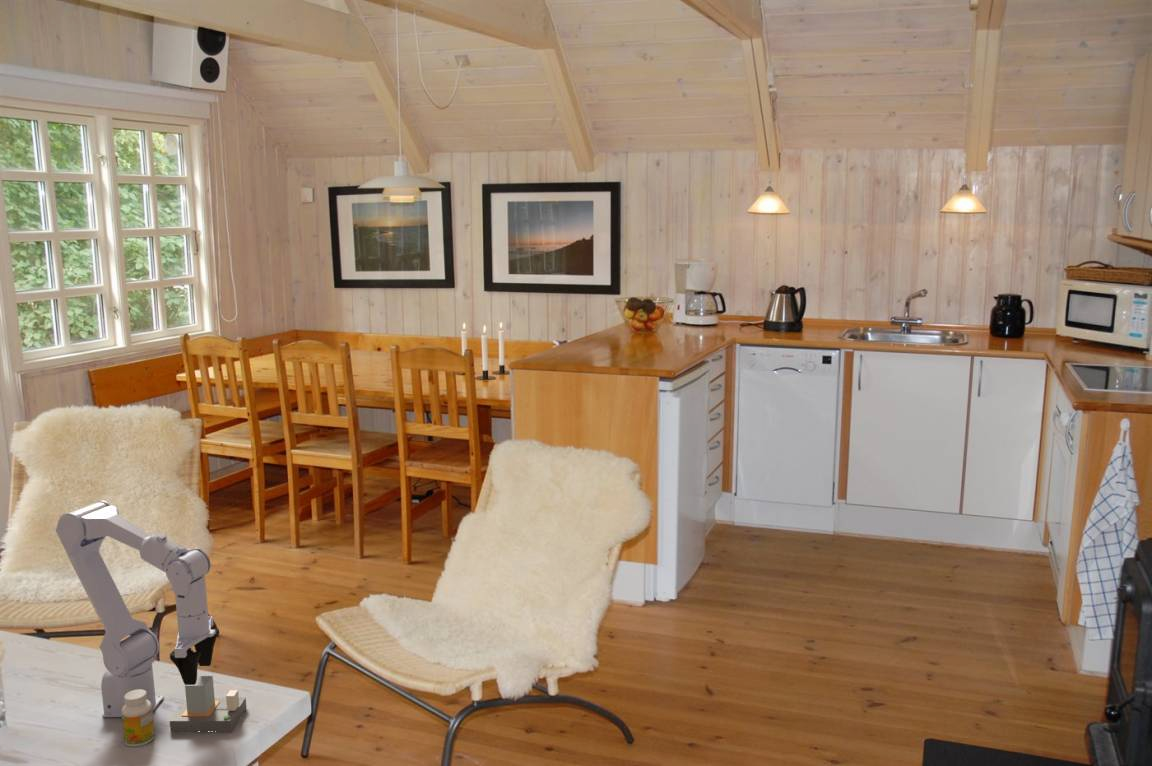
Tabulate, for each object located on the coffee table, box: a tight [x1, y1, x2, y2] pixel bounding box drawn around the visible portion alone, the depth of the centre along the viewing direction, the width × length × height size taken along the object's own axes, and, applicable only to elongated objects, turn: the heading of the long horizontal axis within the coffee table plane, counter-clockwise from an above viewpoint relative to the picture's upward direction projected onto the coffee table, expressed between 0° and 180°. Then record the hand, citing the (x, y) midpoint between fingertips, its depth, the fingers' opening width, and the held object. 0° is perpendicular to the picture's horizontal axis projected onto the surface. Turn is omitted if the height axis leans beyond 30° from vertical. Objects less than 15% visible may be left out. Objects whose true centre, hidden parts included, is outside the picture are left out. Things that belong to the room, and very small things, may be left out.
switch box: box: [169, 697, 247, 733], centre depth 194 cm, size 12×9×3 cm
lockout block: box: [184, 675, 216, 713], centre depth 193 cm, size 4×4×6 cm
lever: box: [225, 689, 240, 711], centre depth 193 cm, size 2×2×3 cm
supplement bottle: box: [121, 689, 156, 748], centre depth 186 cm, size 5×5×10 cm
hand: (197, 674), depth 192 cm, fingers open, 7 cm apart
